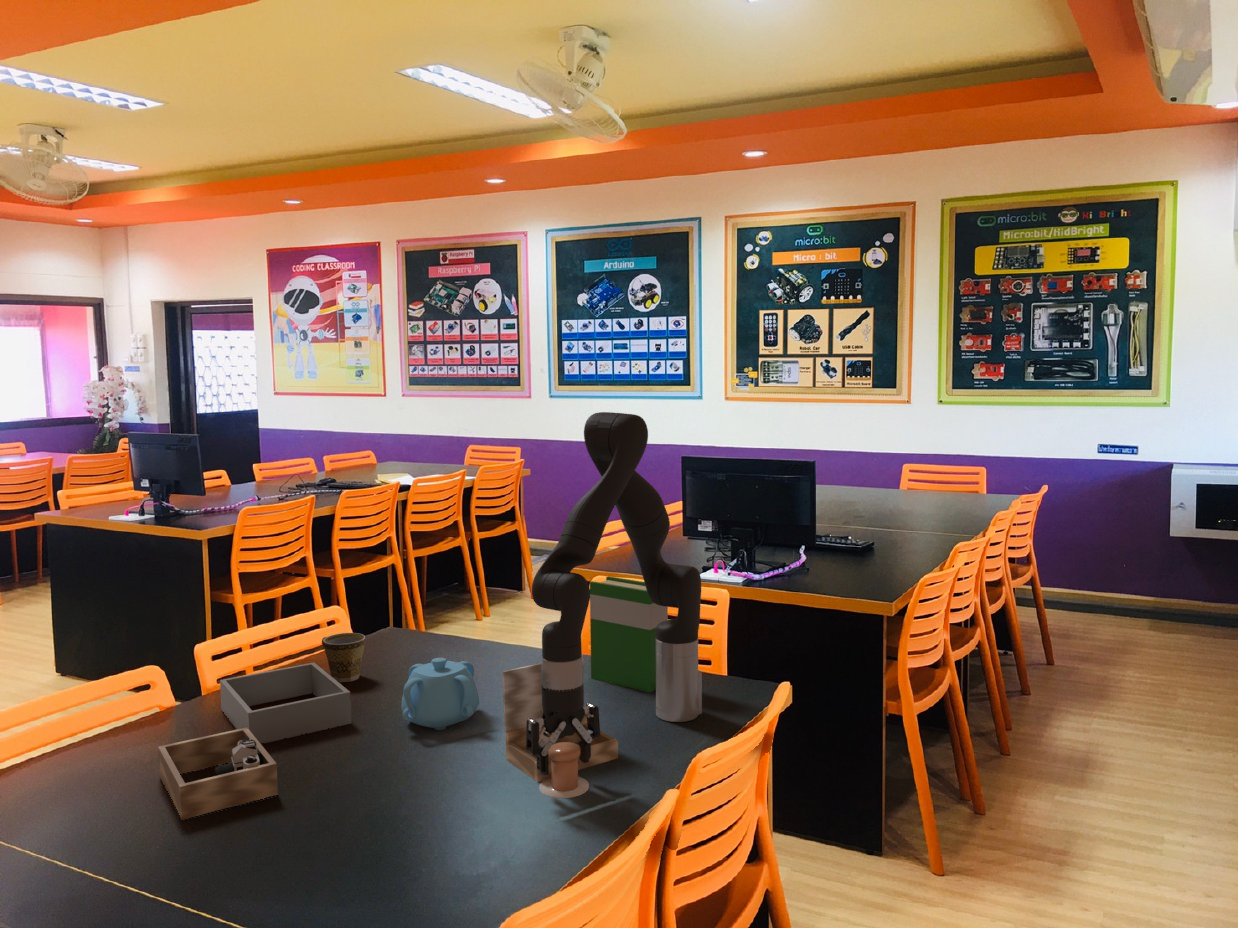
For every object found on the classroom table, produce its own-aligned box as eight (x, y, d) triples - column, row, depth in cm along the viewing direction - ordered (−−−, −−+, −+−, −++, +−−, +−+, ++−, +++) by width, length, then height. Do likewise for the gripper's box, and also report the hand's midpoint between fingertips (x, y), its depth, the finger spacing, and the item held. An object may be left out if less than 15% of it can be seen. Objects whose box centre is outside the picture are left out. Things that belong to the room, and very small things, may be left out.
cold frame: (580, 738, 196) (579, 652, 194) (618, 760, 185) (617, 670, 183) (502, 759, 186) (500, 669, 184) (537, 784, 175) (535, 689, 173)
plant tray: (315, 691, 226) (314, 662, 225) (351, 723, 205) (350, 691, 204) (221, 710, 214) (219, 680, 213) (250, 746, 193) (248, 713, 192)
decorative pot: (473, 734, 199) (471, 671, 197) (395, 735, 198) (393, 671, 197) (483, 706, 215) (481, 647, 213) (411, 707, 215) (409, 648, 213)
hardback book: (591, 678, 233) (589, 581, 230) (609, 670, 239) (608, 576, 236) (650, 692, 222) (649, 591, 220) (667, 683, 228) (667, 585, 226)
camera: (211, 779, 178) (208, 735, 177) (255, 769, 182) (252, 726, 181) (221, 813, 167) (217, 765, 166) (267, 801, 171) (265, 755, 169)
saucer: (572, 774, 179) (572, 771, 179) (598, 791, 172) (598, 788, 171) (530, 786, 174) (530, 783, 174) (555, 805, 166) (555, 801, 166)
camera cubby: (248, 756, 188) (247, 727, 188) (278, 795, 171) (276, 763, 170) (159, 777, 179) (158, 746, 179) (181, 820, 162) (179, 786, 161)
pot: (570, 775, 177) (569, 739, 176) (587, 787, 172) (586, 749, 171) (542, 784, 173) (542, 747, 173) (559, 795, 169) (558, 757, 168)
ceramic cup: (375, 675, 236) (373, 636, 235) (344, 687, 228) (342, 646, 227) (339, 667, 243) (337, 628, 242) (307, 678, 235) (305, 638, 234)
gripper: (584, 667, 178) (586, 751, 179) (517, 683, 170) (519, 770, 171) (607, 678, 171) (608, 764, 173) (538, 695, 163) (540, 785, 165)
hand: (564, 767), depth 172 cm, fingers open, 8 cm apart
